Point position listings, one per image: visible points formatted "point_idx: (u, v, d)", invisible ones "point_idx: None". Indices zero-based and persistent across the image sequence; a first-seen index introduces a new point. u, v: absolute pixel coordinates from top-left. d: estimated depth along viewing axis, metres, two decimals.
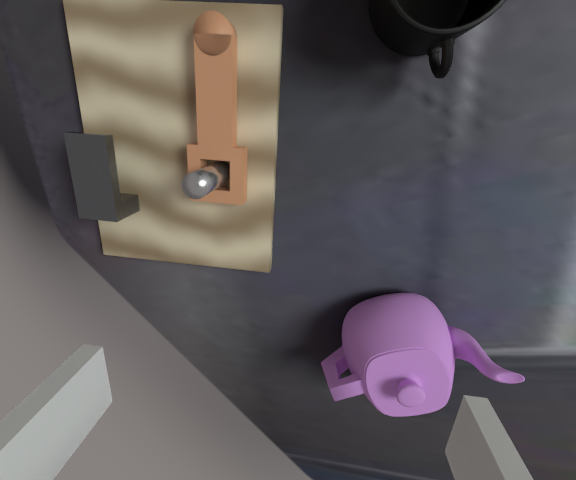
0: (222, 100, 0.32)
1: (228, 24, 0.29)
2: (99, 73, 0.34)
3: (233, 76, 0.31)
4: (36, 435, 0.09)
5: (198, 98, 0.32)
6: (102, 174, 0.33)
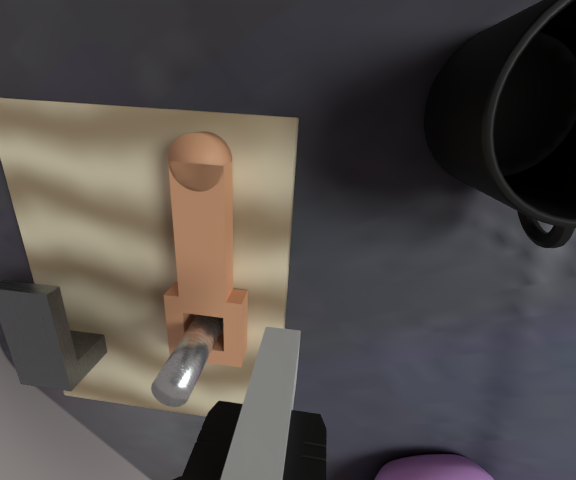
0: (211, 246, 0.22)
1: (219, 152, 0.20)
2: (43, 194, 0.25)
3: (227, 214, 0.22)
4: None
5: (178, 242, 0.22)
6: (47, 338, 0.24)
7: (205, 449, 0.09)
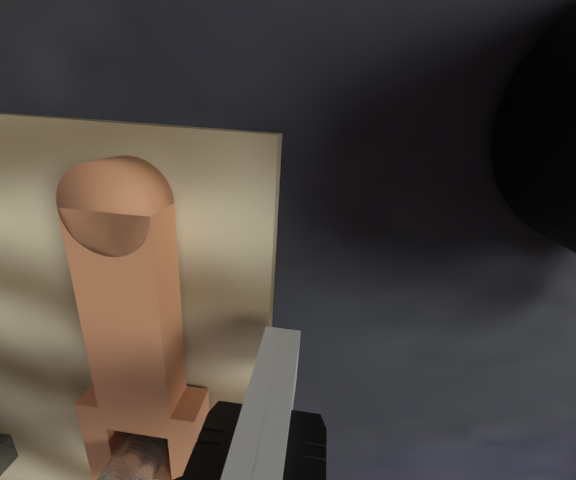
0: (141, 340, 0.14)
1: (140, 194, 0.11)
2: None
3: (166, 288, 0.14)
4: None
5: (87, 332, 0.14)
6: None
7: (205, 449, 0.09)
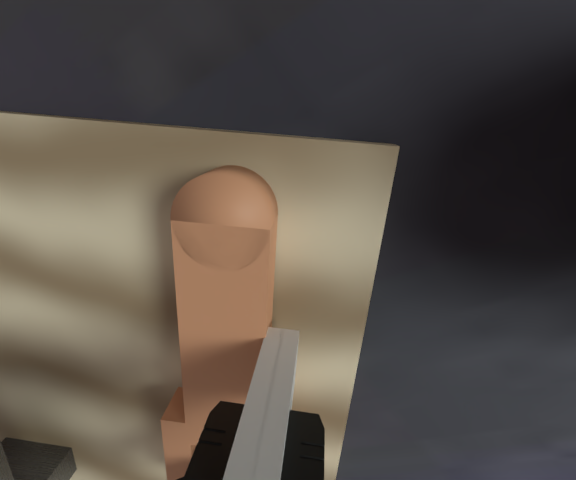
0: (242, 355, 0.13)
1: (263, 206, 0.11)
2: None
3: (269, 301, 0.13)
4: None
5: (185, 347, 0.14)
6: None
7: (207, 449, 0.09)
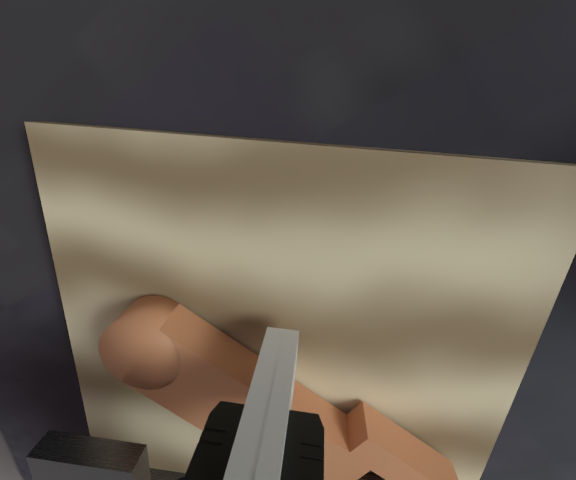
0: None
1: (139, 322, 0.13)
2: (114, 279, 0.15)
3: (232, 361, 0.14)
4: None
5: None
6: None
7: (207, 449, 0.09)
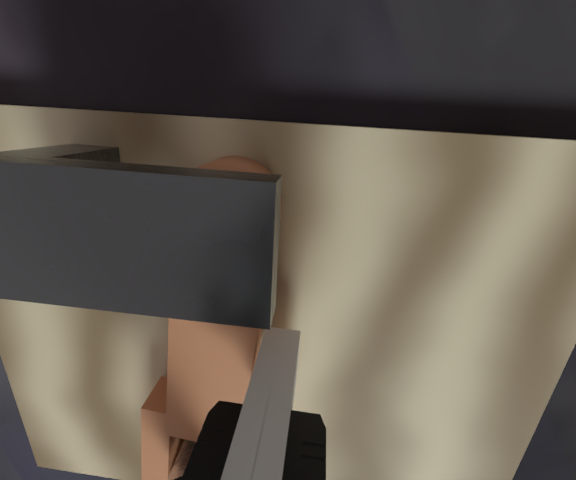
0: (231, 350, 0.13)
1: None
2: (441, 212, 0.12)
3: None
4: None
5: (174, 337, 0.13)
6: (141, 290, 0.10)
7: (205, 449, 0.09)
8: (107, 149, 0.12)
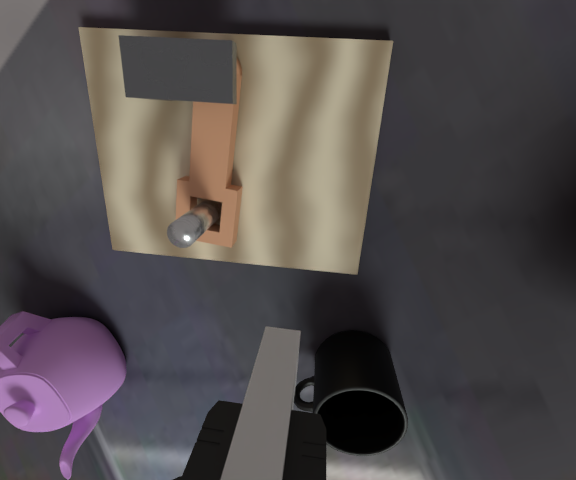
0: (219, 139, 0.29)
1: None
2: (310, 74, 0.29)
3: (234, 115, 0.29)
4: None
5: (194, 134, 0.29)
6: (184, 89, 0.26)
7: (205, 449, 0.09)
8: None
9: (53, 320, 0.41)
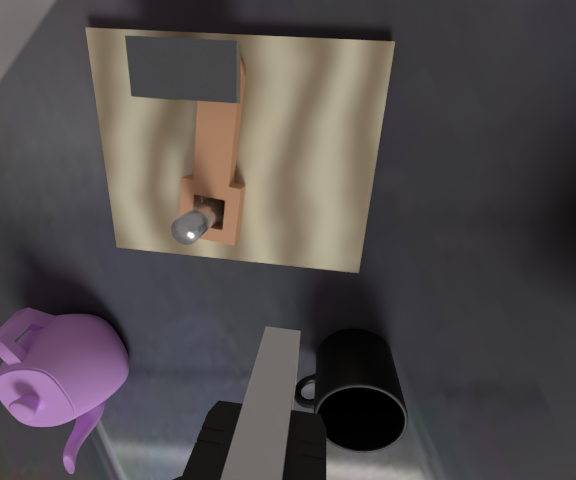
0: (223, 138, 0.30)
1: None
2: (313, 74, 0.29)
3: (238, 115, 0.30)
4: None
5: (198, 133, 0.30)
6: (189, 88, 0.26)
7: (205, 449, 0.09)
8: None
9: (57, 316, 0.41)
